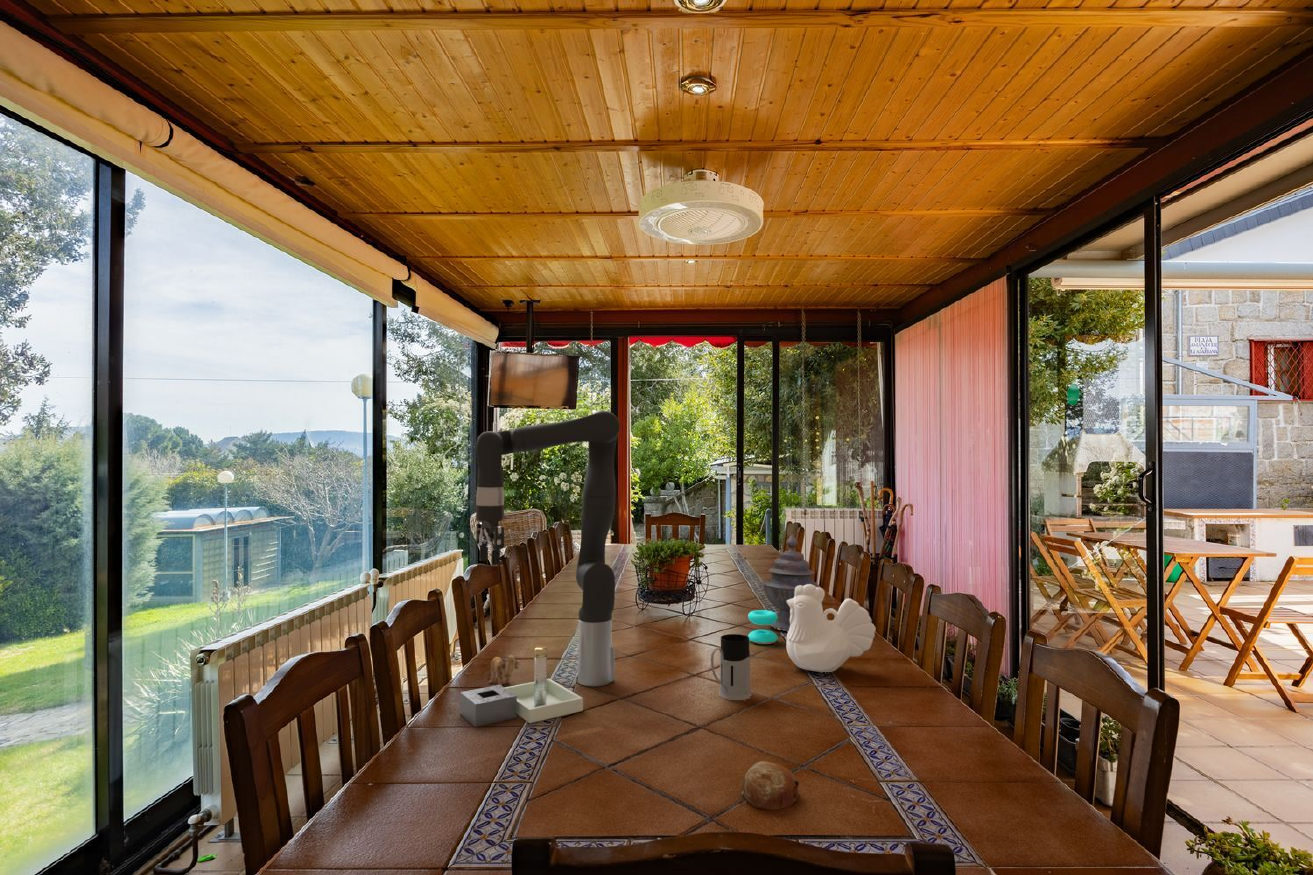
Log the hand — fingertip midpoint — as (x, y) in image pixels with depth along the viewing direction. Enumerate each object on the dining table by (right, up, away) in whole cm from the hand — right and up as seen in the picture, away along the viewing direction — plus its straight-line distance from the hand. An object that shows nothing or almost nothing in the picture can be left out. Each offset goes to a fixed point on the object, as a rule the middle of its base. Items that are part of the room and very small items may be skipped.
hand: (489, 562), depth 192 cm
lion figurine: (+4, -33, -1) cm, 34 cm away
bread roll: (+67, -32, -64) cm, 98 cm away
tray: (+17, -33, -20) cm, 42 cm away
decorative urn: (+95, -36, +63) cm, 120 cm away
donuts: (+82, -35, +44) cm, 99 cm away
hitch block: (+6, -32, -27) cm, 43 cm away
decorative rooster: (+97, -34, +11) cm, 103 cm away
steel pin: (+17, -32, -20) cm, 41 cm away
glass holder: (+65, -33, -11) cm, 74 cm away
